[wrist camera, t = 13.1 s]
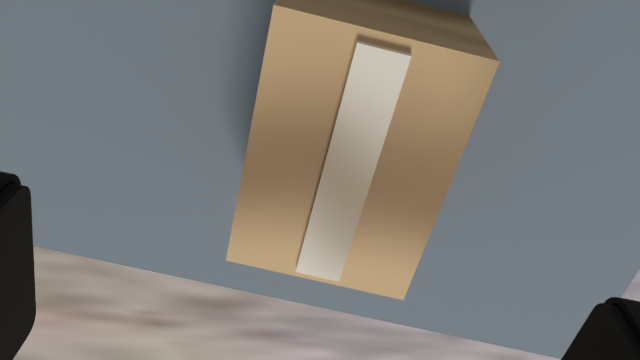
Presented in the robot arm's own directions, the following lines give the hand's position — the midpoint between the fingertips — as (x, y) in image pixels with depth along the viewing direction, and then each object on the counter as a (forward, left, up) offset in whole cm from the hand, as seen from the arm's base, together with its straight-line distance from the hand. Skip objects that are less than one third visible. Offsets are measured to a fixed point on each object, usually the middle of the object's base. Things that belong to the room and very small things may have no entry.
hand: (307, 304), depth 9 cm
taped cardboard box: (+1, 0, -9) cm, 9 cm away
